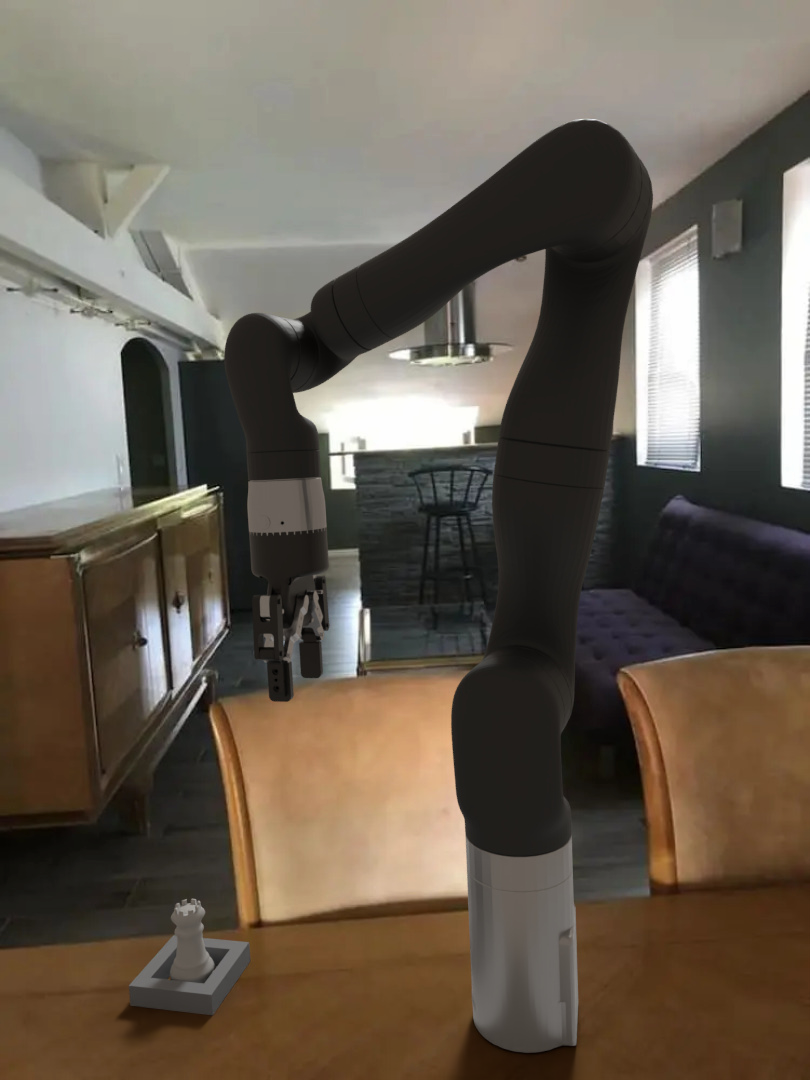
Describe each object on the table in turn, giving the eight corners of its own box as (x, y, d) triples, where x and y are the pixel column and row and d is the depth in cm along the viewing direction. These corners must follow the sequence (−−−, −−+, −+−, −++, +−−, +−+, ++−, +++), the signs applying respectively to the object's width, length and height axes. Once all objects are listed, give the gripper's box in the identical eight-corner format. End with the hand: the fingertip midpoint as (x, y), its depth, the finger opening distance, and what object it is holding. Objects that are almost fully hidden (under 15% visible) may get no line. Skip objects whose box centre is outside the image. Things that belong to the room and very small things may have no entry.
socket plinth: (250, 960, 85) (249, 942, 85) (212, 1015, 77) (211, 994, 77) (175, 953, 87) (173, 935, 87) (130, 1005, 79) (128, 985, 79)
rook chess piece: (159, 990, 81) (153, 912, 80) (191, 965, 85) (185, 890, 84) (195, 1002, 79) (189, 921, 78) (225, 975, 83) (220, 898, 82)
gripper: (298, 531, 73) (309, 710, 75) (346, 518, 87) (354, 670, 89) (219, 533, 75) (232, 709, 77) (279, 521, 89) (288, 669, 91)
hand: (297, 688), depth 83 cm, fingers open, 8 cm apart
